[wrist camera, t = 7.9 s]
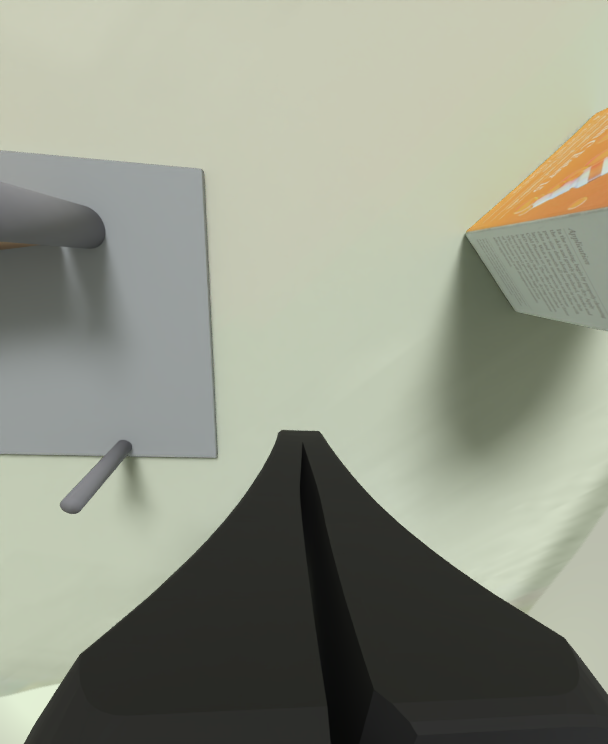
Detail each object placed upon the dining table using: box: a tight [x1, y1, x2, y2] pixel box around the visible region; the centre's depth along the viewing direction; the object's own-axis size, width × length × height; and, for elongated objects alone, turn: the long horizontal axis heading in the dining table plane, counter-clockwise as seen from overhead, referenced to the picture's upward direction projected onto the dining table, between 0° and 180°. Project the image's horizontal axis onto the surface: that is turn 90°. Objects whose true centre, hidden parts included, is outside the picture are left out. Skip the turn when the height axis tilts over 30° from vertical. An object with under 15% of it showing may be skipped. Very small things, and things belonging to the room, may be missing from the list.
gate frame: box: [0, 150, 217, 514], centre depth 14 cm, size 17×17×6 cm
